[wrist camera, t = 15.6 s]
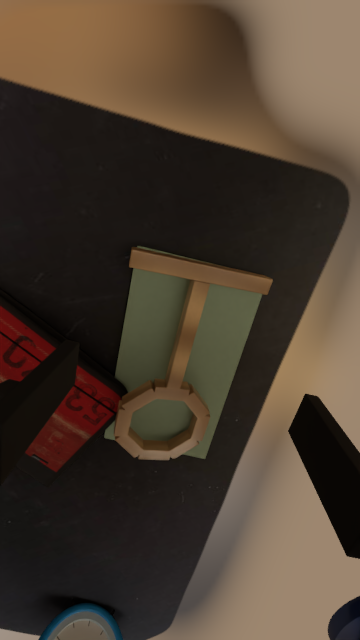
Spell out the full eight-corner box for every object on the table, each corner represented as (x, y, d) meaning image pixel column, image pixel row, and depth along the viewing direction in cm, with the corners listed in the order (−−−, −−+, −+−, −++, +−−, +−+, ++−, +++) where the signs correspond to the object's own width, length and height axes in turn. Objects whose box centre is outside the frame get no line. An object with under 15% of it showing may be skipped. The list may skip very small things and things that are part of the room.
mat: (205, 456, 32) (205, 459, 32) (105, 435, 32) (104, 438, 31) (267, 276, 25) (268, 277, 24) (138, 245, 24) (137, 245, 24)
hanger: (203, 451, 32) (206, 462, 31) (97, 446, 29) (96, 458, 28) (266, 275, 24) (273, 279, 23) (131, 246, 22) (131, 249, 20)
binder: (47, 491, 31) (-127, 379, 27) (56, 473, 34) (-103, 368, 30) (135, 403, 27) (-51, 259, 24) (139, 390, 30) (-31, 257, 26)
